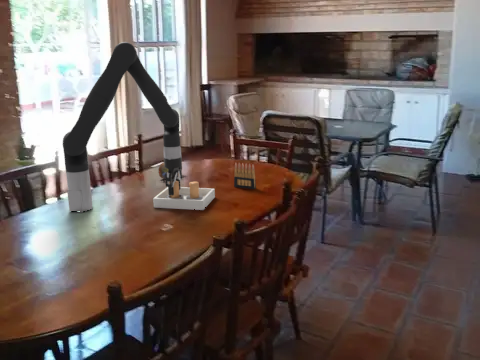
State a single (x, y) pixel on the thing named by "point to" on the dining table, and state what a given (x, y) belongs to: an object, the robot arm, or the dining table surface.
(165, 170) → the tin
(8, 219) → the dining table surface
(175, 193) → the tan rounded sausage
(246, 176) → the ammunition clip
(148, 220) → the dining table surface
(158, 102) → the robot arm
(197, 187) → the housing
